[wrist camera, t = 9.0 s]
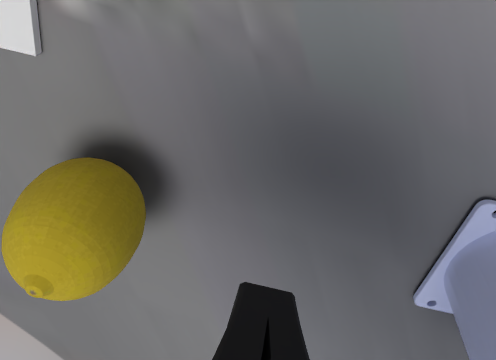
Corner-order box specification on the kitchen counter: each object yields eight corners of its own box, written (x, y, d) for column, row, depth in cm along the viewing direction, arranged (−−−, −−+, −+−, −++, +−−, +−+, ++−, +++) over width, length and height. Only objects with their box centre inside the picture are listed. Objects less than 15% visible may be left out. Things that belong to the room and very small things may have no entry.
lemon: (67, 113, 20) (-48, 219, 14) (174, 151, 21) (113, 270, 14) (60, 195, 23) (-36, 313, 17) (154, 227, 24) (96, 352, 17)
